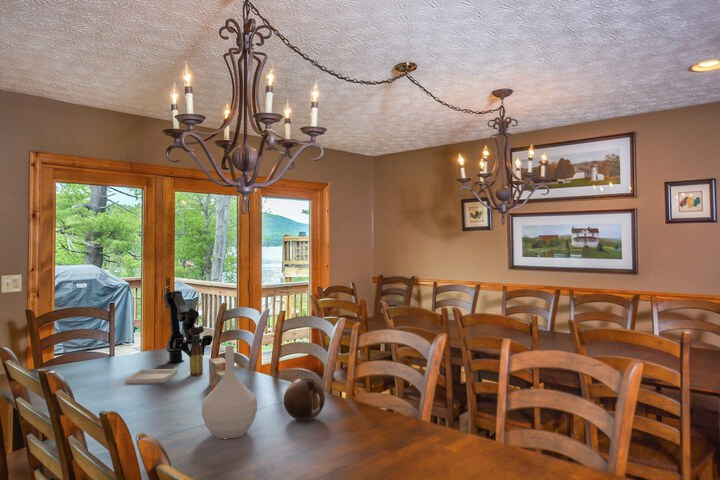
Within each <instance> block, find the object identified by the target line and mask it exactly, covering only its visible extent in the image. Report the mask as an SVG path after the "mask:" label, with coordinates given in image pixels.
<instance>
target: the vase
mask: <svg viewBox="0 0 720 480" xmlns="http://www.w3.org/2000/svg"><path fill="white" fill-rule="evenodd" d="M234 348H235V347H234V345H225V354H224V356H225V358H224V359H225V374H224V376H223V378H222V379H221V381H220V382H219V383H218V384H217V386H216V387H215V388H214V389H212V390H211V391H210V392H209V393H208V395H207V396H205V398H204V399H203V401H202V406H201V416H202V420H203V422H204V425H205V427H206V428H207V430H208V431H209V432H210V434H211V435H212V436H214V437H215V438H217V439H220V438H223V439H222V440H225V439H224V438H233V439H236V438H235V437H237V438H240V437H242V436H244V435H245V434H246V433H247V432H248V431H249V429H250V428H251V426H252V425H253V423H254V422H255V418H256V415H257V412H258V400H257V398H256V397H257V396H256V394H255V393H253V392H252V391H251V390H250V389H249V388H248V387H247V386H246V385H245V384H244V383H243V382H242V381H241V379H240V378H238V377H237V375H236V373H235V351H234V350H235V349H234ZM243 434H244V435H243ZM241 435H242V436H241ZM239 436H240V437H239Z"/></svg>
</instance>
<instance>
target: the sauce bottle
mask: <svg viewBox="0 0 720 480" xmlns="http://www.w3.org/2000/svg"><path fill="white" fill-rule="evenodd" d="M200 337H201V334H196V335H192V336H191V338H192V344H191V346H190V348H189V350H190V353H191V357H189V372H190V375H191V377H192V376H193V377H198V376H201V375H203V374H204V362H203V361H204V360H203V359H204V358H203V357H204V355H203V353H202V347H201V344H200V339H201V338H200Z"/></svg>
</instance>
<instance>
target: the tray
mask: <svg viewBox="0 0 720 480" xmlns="http://www.w3.org/2000/svg"><path fill="white" fill-rule="evenodd" d="M177 374H178V368H164V369H163V368H157V369H156V368H154V369H140V370H138V371H137V372H135V373H133V374H131V376H128V377H127V378H126V379H125V385H137V384H140V385H141V384H143V385H144V384H146V385H147V384H148V385H149V384H166V383H167V382H169V381H170V380H171V379H172V378H174V377H175V376H176V375H177Z"/></svg>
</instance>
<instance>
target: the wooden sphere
mask: <svg viewBox="0 0 720 480" xmlns="http://www.w3.org/2000/svg"><path fill="white" fill-rule="evenodd" d="M325 397H326V396H325V392H324V389H323V387H322V385H321V384H319V382H317V381H316V380H314V379H312V378H308V377H301V378H297V379H295V380H294V381H292V382H291V383H290V384H289V385H288V386H287V388H285V392H284V395H283V405H284V409H285V411H286V412H287V414H288V415H289V416H290V417H292V418H293V420H294V419H295V420H296V421H297V420H298V421H301V422H305V421H307V422H308V421H311V420H312V419H315V418H316V417H318V416H319V415H320V413H321V412H322V410H323V409H324V407H325V402H326V399H325Z"/></svg>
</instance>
